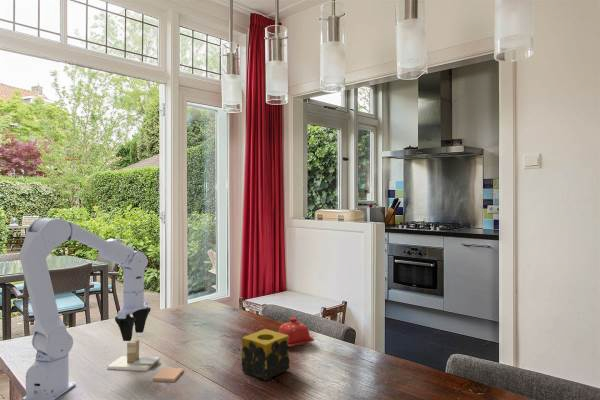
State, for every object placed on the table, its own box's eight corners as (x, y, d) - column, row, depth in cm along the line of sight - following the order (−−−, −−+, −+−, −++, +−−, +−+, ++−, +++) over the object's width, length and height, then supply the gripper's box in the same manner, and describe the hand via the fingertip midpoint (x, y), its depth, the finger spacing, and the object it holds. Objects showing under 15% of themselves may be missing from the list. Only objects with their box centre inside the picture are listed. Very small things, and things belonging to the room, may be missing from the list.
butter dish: (271, 339, 146) (271, 315, 146) (299, 334, 151) (299, 311, 151) (286, 350, 136) (286, 324, 136) (316, 344, 141) (316, 319, 141)
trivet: (147, 370, 119) (147, 367, 119) (107, 369, 120) (107, 366, 120) (158, 360, 127) (158, 357, 127) (121, 359, 128) (121, 356, 128)
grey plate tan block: (153, 365, 120) (153, 344, 120) (124, 364, 121) (124, 344, 121) (160, 358, 125) (160, 339, 125) (133, 358, 126) (133, 338, 126)
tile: (152, 383, 112) (174, 383, 111) (152, 378, 112) (174, 378, 111) (163, 372, 119) (183, 372, 118) (163, 367, 119) (183, 368, 118)
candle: (265, 361, 126) (265, 328, 126) (290, 369, 120) (290, 334, 120) (240, 371, 118) (240, 336, 118) (266, 381, 112) (265, 344, 112)
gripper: (134, 296, 116) (134, 345, 116) (156, 286, 130) (156, 329, 130) (110, 296, 116) (110, 344, 116) (135, 285, 131) (135, 328, 131)
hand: (133, 336), depth 123 cm, fingers open, 7 cm apart
